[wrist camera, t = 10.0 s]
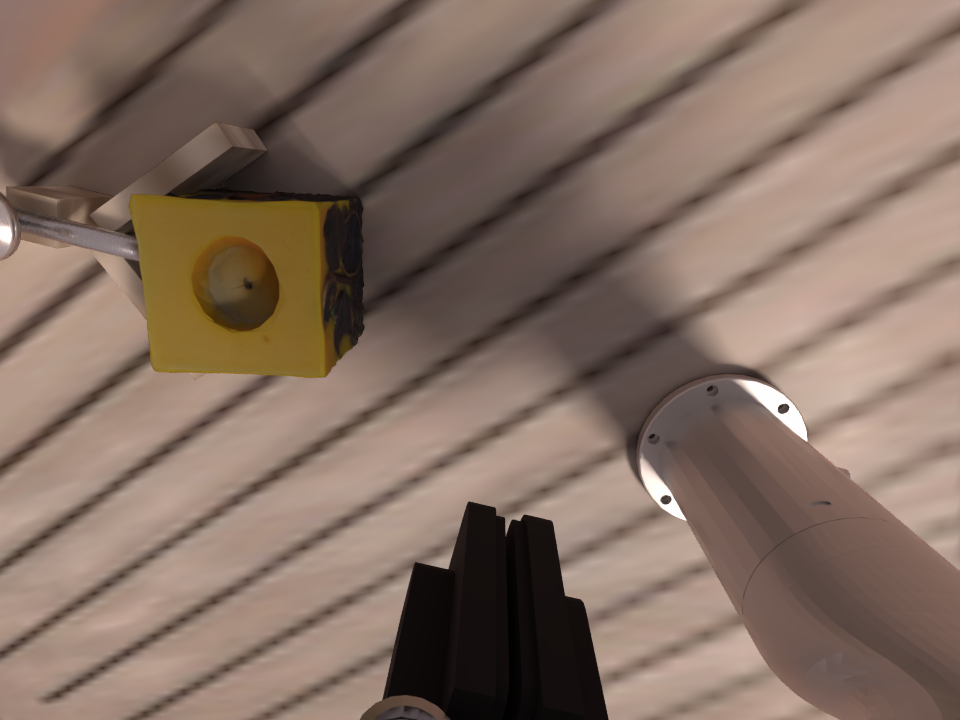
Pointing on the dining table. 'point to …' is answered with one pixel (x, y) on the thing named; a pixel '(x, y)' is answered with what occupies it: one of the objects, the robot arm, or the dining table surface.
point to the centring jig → (179, 174)
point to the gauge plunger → (59, 232)
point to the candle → (250, 280)
